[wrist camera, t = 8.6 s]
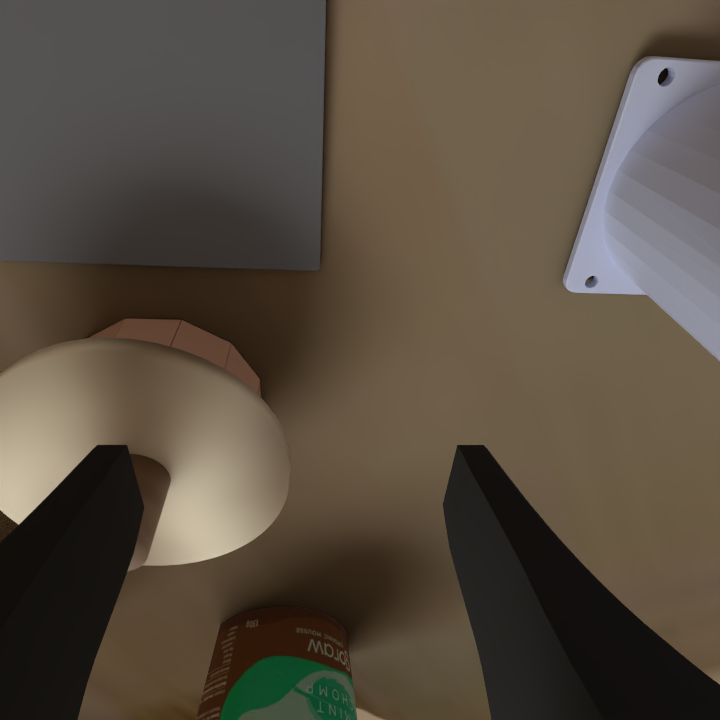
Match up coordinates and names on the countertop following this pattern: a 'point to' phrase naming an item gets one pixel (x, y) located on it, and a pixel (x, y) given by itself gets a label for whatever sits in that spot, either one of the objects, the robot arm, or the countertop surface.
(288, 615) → the food container
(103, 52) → the mat
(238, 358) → the bowl
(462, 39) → the countertop surface
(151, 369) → the cover
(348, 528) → the countertop surface
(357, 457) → the countertop surface
